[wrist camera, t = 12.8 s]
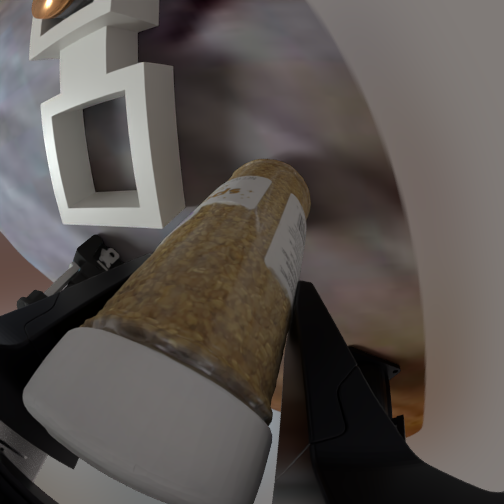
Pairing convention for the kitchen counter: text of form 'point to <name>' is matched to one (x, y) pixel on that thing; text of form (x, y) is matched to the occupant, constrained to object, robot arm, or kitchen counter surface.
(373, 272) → the kitchen counter surface
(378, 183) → the kitchen counter surface
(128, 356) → the sprinkles bottle
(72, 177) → the housing
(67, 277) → the push button
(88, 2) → the copper and black cylinder
